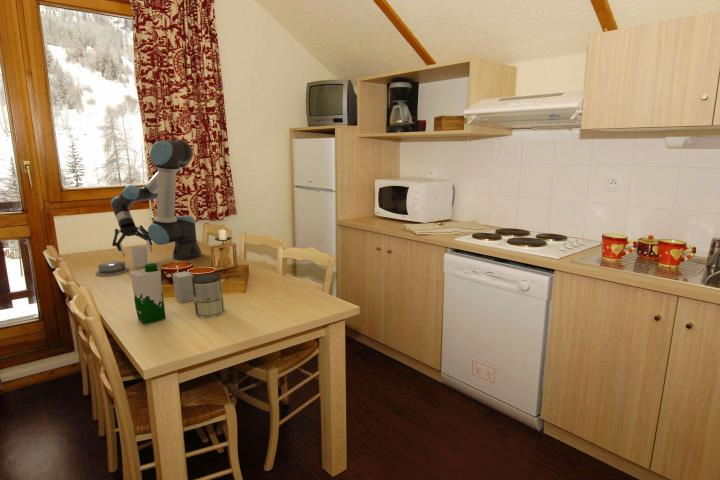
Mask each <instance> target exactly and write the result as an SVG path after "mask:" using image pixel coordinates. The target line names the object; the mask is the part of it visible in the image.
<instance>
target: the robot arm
mask: <svg viewBox="0 0 720 480" xmlns="http://www.w3.org/2000/svg"><path fill="white" fill-rule="evenodd" d="M193 151H194V150H193V148H192V146H191V145H190V144H189V143H188V142H186V141H184V140H179V139H177V140H163V139H162V140H159V141H156V142H154V143H153V144H152V145H151V146H150V149H149V157H150V161H151V162H152V163H153V164H154V168H155V169H156V170H157V171H156V172H155V174H154V175H153V176H152V177H150V179H149V180H148V181H147V183H145V185H143V186H142V187H138V186H136V185H133V184H128V185H126V186H125V187H124V189H122V191H121V192H120V194H119V195H118V196H115V197H113V198H111V200H110V205H111V209H112V211H113V213H114V216H115V218H116V221H117V223H118V227H119V228H120V229H118V228H115V229H114V236H113V237H114V238H113V239H112V247H116V248H117V251H118V252H120V254H121V255H122V257H126V252H125V250H124V247H123V245H122V242H124V241H123V240H124V239H126V237H132V236H135V237H138V238H141V239H142V240H144V241H146V246H147V248H148V250H149V252H150V253H151V252H153V244H156V245H158V246H163V245H168V244H171V243H174V247H173V251H172V259H174V260H191V259H196V258H199V257H201V256H202V250H201V247H200V246H199V244H198V240H197V232H196V231H197V230H196V221H195V218H194V216H190V215H184V216H183V215H176V214H175V213H176V211H175V209H176V207H175V206H176V186H177V185H176V184H177V173H178V172H179V171H181V169H184V168H186V167H187V166H188V165H189V164H190V162H191V161H192V160H193V156H194V152H193ZM151 200H152V201H153V200H156V215H155V216H154V217H153V223H152V224H150V225H149V226H148V228H147V229H146V228H144V226H143V225H142V224H141V225H139V226H136V224H135V221H134V218H133V216H132V213H131V211H130V208H131V206H132V205H133V204H134V203H137V202H144V201H151ZM120 233H121V236H120V238H119V239H118V236H119V234H120Z"/></svg>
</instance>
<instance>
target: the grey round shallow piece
mask: <svg viewBox="0 0 720 480" xmlns="http://www.w3.org/2000/svg"><path fill="white" fill-rule="evenodd" d="M97 268H98V270H97V271H95V276H99V277H108V276H117V275H121V274H124V273H127V272H128V270H130V267H128V266H126V262H125V260H124V261H123V260H113V261H107V262H102V263H100V264H98V265H97Z"/></svg>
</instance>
